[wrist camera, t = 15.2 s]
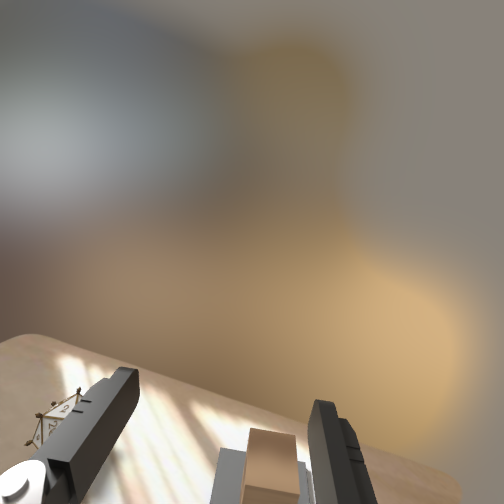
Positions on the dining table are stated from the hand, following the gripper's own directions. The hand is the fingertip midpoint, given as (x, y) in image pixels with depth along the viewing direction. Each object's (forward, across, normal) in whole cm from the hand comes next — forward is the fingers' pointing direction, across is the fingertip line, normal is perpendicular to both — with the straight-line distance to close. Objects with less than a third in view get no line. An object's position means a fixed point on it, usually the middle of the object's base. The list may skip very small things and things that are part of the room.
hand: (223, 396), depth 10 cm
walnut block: (+10, -5, +31) cm, 33 cm away
